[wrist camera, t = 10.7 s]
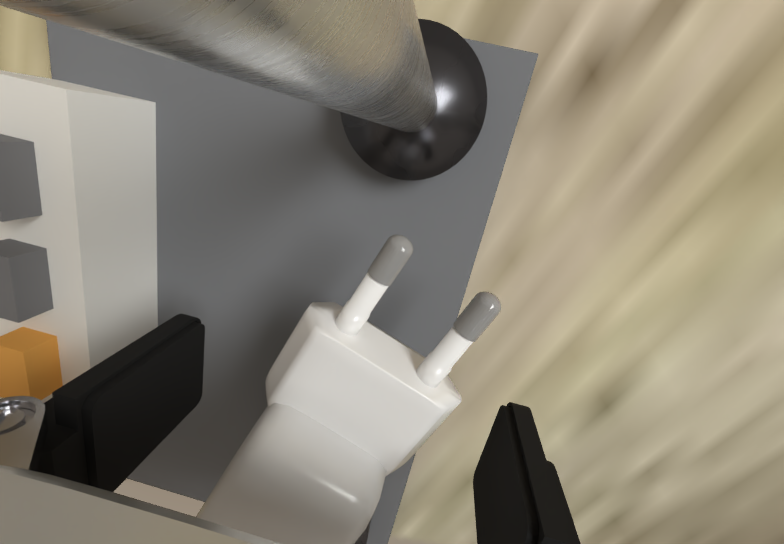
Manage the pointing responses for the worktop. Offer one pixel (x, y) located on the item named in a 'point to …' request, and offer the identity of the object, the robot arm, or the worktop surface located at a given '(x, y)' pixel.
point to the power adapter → (341, 416)
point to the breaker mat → (215, 231)
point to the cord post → (318, 64)
